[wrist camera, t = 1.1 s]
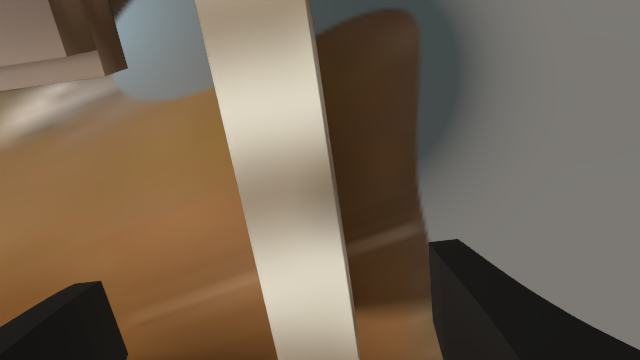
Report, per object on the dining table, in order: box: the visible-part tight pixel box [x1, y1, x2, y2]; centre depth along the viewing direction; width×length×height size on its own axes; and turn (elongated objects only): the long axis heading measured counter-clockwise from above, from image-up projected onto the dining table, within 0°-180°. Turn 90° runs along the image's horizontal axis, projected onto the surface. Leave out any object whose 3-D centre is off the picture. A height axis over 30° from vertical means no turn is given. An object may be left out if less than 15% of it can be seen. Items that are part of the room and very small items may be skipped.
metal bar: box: [195, 0, 360, 360], centre depth 17 cm, size 16×3×5 cm, turn 8°
